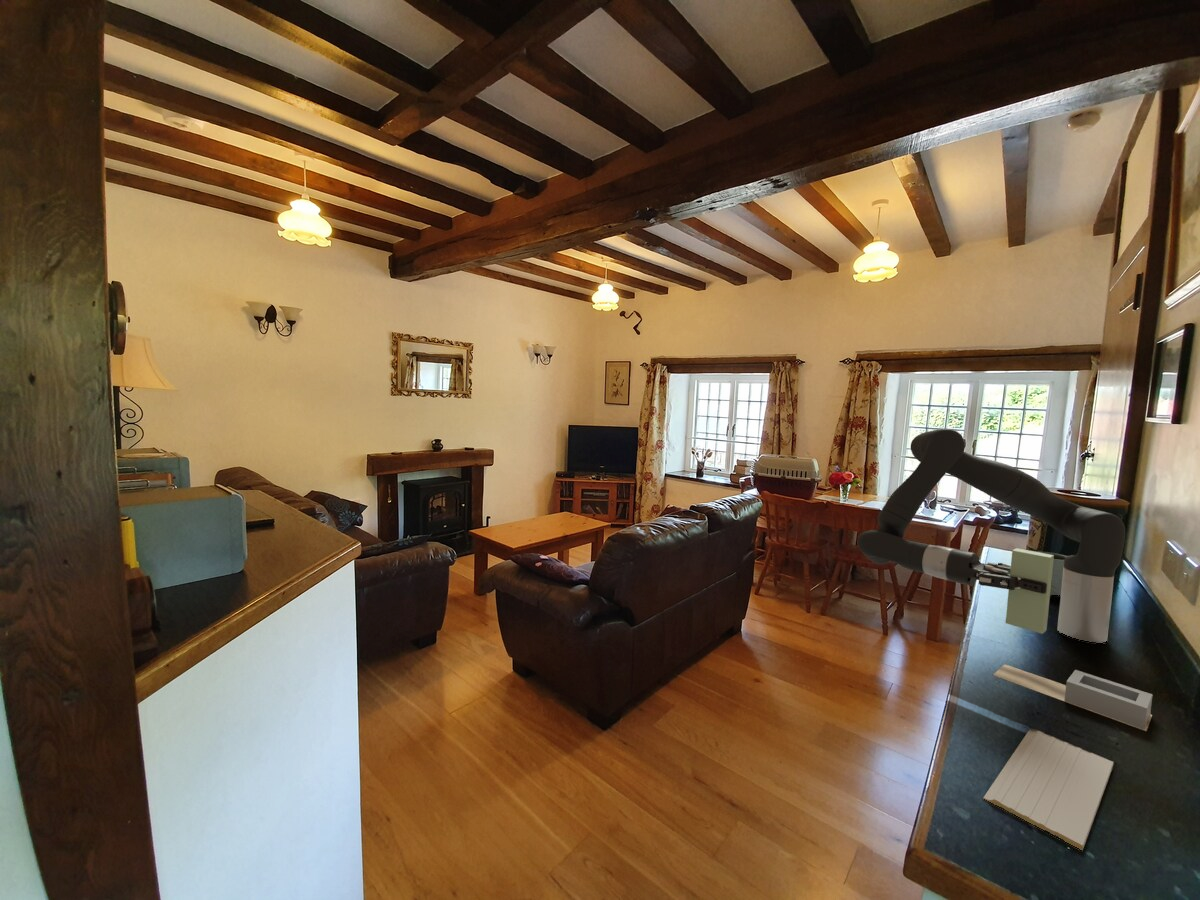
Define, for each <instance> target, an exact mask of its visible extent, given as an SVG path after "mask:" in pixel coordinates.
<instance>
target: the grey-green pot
mask: <svg viewBox="0 0 1200 900" xmlns="http://www.w3.org/2000/svg"><path fill="white" fill-rule="evenodd" d="M1033 551H1034V550H1033ZM1034 552H1040V553H1045V554H1050V555H1054V560H1053V570H1052V580H1051V581H1052V585H1051V590H1050V596H1052V595H1058V596H1057V597H1061V588H1062V577H1063V567H1064V559H1065V558H1066V557H1067V556H1068V555H1064V554H1060V553H1054V552H1050V551H1049V552H1048V551H1040V550H1039V551H1036V550H1035V551H1034ZM1059 595H1060V596H1059Z"/></svg>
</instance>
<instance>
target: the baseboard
mask: <svg viewBox="0 0 1200 900" xmlns="http://www.w3.org/2000/svg"><path fill="white" fill-rule="evenodd" d="M1036 714H1037V715H1038V716H1040V715H1041V716H1044V717H1046V718H1050V719H1051V720H1054V721H1057V722H1060V723H1061V724H1065V725H1068V726H1070V727H1072V728H1075V729H1077V730H1080V731H1082V732H1085V733H1088V734H1091V735H1093V736H1095V737H1098V738H1099V739H1100V738H1102V739H1104V740H1106V741H1109V742H1111V743H1113V744H1115V746H1118V745H1120V744H1119V743H1118V741H1116V742H1115V741H1111V740H1109V739H1107V738H1103V737H1102V736H1098V735H1096V734H1093V733H1091V732H1088V731H1086V730H1083V726H1080V725H1079V724H1076V723H1072V722H1070V721H1065V722H1062V721H1061V720H1057V719H1055V718H1052V717H1050V716H1047V715H1044V714H1041V713H1040V711H1038V712H1036ZM1032 715H1033V716H1035V714H1034V713H1032ZM1115 763H1116V762H1115V761H1113V760H1111V759H1109V758H1106V757H1104V756H1102V755H1099V754H1097V753H1094V752H1092V751H1090V750H1087V749H1085V748H1082V747H1080V746H1078V745H1075V744H1072V743H1071V742H1067V741H1065V740H1063V739H1061V738H1058V737H1055V736H1053V735H1051V734H1048V733H1046V732H1044V731H1040V730H1038V729H1036V728H1035V727H1030V728H1029V729H1028V731H1027V732H1026V733H1025V736H1024V737H1023V738H1022V739H1021V742H1020V743H1019V744H1018V746H1017V747H1016V748H1015V750H1014V751H1013V753H1012V754H1011V756H1010V758H1009V759H1008V760H1007V762H1006V763H1005V765H1004V766H1003V767H1002V770H1001V771H1000V773H999V774H998V775H997V777H996V778H995V780H994V781H993V782H992V784H991V785H990V787H989V789H988V790H987V792H986V793H985V794H984V796H983V798H982V799H983V800H984V799H985V800H984V801H986V800H987V801H986V802H988V801H989V802H991V803H993V804H994V805H993V804H992V805H993V806H995V805H997V806H999V807H1002V808H1004V809H1005V810H1007V811H1009V812H1011V813H1013V814H1015V815H1016V816H1018V817H1020V818H1022V819H1024V820H1025V821H1027V822H1029V823H1031V824H1033V825H1036V826H1037V827H1039V828H1041V829H1043V830H1046V831H1048V832H1050V833H1051V834H1053V835H1056V836H1058V837H1059V838H1061V839H1063V840H1064V841H1065V842H1067V843H1069V844H1071V845H1073V846H1075V847H1077V848H1079V849H1080V850H1082V851H1081V852H1083V851H1084V847H1085V845H1086V842H1087V840H1088V837H1089V834H1090V831H1091V829H1092V826H1093V823H1094V820H1095V817H1096V814H1097V813H1098V809H1099V807H1100V804H1101V801H1102V798H1103V795H1104V793H1105V790H1106V787H1107V785H1108V782H1109V779H1110V776H1111V774H1112V773H1111V772H1112V771H1113V768H1114V765H1115ZM989 802H988V803H989ZM991 803H990V804H991ZM997 806H996V807H997ZM999 807H998V808H999ZM1005 810H1004V811H1005ZM1007 811H1006V812H1007ZM1016 816H1015V817H1016ZM1018 817H1017V818H1018ZM1020 818H1019V819H1020ZM1022 819H1021V820H1022ZM1024 820H1023V821H1024ZM1025 821H1024V822H1025ZM1027 822H1026V823H1027ZM1029 823H1028V824H1029ZM1031 824H1030V825H1031ZM1033 825H1032V826H1033ZM1037 827H1036V828H1037ZM1039 828H1038V829H1039ZM1041 829H1040V830H1041ZM1043 830H1042V831H1043ZM1065 842H1064V843H1065ZM1067 843H1066V844H1067ZM1069 844H1068V845H1069ZM1071 845H1070V846H1071ZM1073 846H1072V847H1073ZM1075 847H1074V848H1075ZM1077 848H1076V849H1077ZM1079 849H1078V850H1079ZM1080 850H1079V851H1080Z"/></svg>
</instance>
